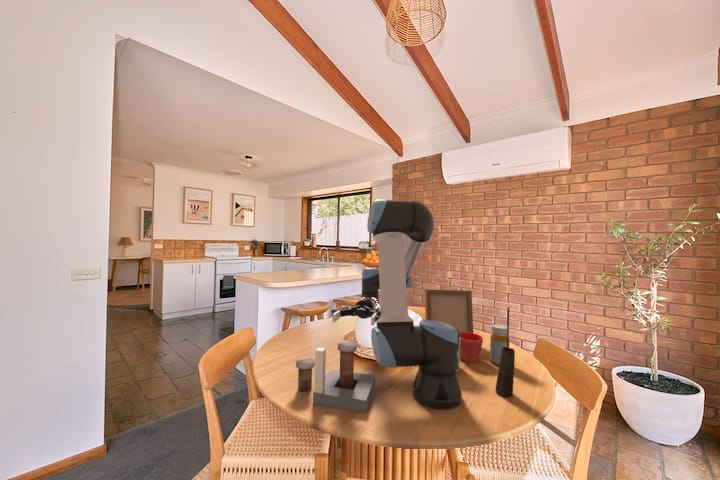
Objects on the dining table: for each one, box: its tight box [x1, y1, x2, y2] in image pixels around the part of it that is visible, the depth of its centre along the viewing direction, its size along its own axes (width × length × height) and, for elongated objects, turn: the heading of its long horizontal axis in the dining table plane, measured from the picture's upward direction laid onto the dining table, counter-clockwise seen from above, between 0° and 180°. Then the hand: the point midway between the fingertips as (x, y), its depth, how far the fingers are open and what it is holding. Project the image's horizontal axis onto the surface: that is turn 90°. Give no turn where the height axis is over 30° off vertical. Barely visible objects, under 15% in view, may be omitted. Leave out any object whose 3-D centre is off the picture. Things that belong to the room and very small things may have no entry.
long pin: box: [337, 340, 358, 390], centre depth 94 cm, size 6×6×16 cm
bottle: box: [489, 323, 510, 367], centre depth 121 cm, size 7×7×15 cm
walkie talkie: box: [495, 306, 516, 398], centre depth 96 cm, size 9×10×28 cm
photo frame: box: [424, 289, 474, 333], centre depth 147 cm, size 15×22×25 cm
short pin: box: [295, 356, 315, 393], centre depth 97 cm, size 6×6×9 cm
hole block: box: [312, 347, 377, 414], centre depth 94 cm, size 16×16×16 cm
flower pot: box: [460, 332, 484, 364], centre depth 124 cm, size 11×11×10 cm
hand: (352, 319), depth 101 cm, fingers open, 13 cm apart
